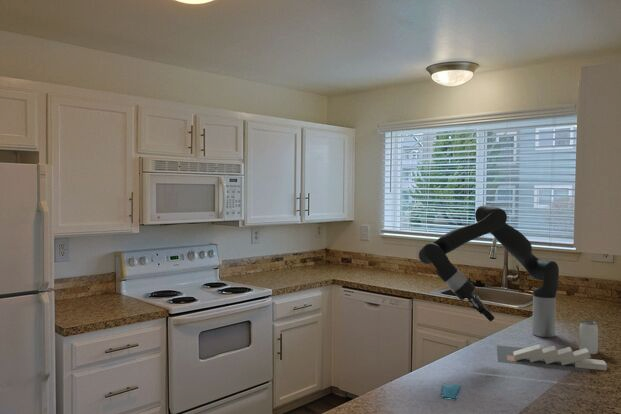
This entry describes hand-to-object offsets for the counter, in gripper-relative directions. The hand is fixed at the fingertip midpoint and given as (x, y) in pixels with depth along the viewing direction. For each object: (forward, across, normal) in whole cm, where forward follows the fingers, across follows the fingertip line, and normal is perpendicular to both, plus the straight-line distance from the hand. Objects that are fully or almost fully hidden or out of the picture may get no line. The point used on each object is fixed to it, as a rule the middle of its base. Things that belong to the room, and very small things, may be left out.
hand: (492, 319), depth 196 cm
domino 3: (+22, 0, -4) cm, 23 cm away
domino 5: (+29, 0, -11) cm, 31 cm away
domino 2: (+19, 0, 0) cm, 19 cm away
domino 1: (+15, 0, +4) cm, 15 cm away
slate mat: (+22, +5, -2) cm, 23 cm away
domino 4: (+26, 0, -8) cm, 27 cm away
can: (+36, +20, -15) cm, 44 cm away
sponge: (+2, -40, +21) cm, 45 cm away
